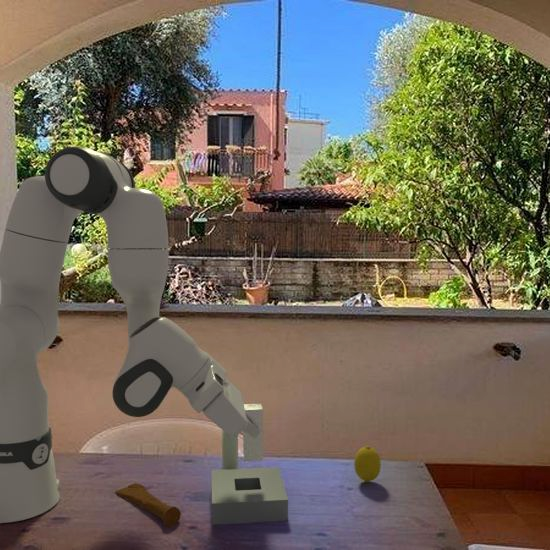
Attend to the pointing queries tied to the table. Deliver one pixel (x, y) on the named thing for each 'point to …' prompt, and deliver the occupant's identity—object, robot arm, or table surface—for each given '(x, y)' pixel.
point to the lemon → (367, 464)
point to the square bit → (250, 445)
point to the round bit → (229, 451)
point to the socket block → (248, 496)
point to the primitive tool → (150, 503)
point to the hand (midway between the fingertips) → (256, 429)
